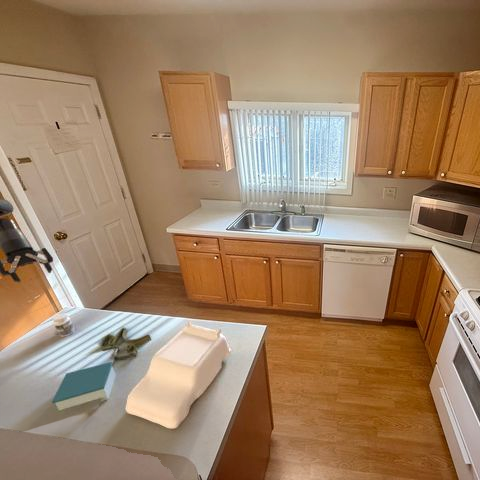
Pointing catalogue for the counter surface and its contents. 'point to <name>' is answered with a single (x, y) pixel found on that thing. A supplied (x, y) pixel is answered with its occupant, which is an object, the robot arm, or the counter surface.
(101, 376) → the teal book
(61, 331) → the pill bottle
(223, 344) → the white toy car
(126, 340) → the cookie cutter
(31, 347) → the counter surface
